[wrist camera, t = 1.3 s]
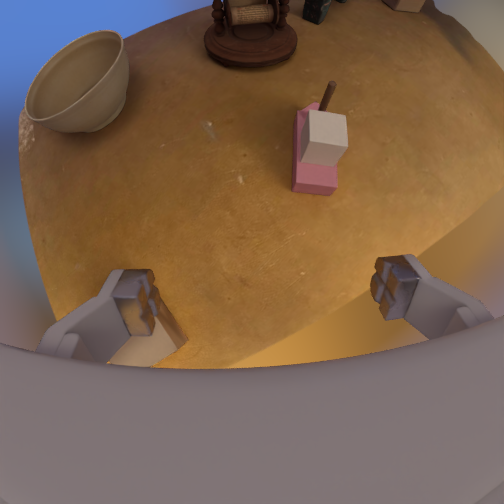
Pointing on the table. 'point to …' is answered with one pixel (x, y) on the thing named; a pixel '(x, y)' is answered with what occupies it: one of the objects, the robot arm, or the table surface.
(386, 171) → the table surface
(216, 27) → the scroll
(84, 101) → the planter bowl
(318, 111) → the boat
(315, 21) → the ceramic cat
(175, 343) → the birch block
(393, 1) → the decorative block
